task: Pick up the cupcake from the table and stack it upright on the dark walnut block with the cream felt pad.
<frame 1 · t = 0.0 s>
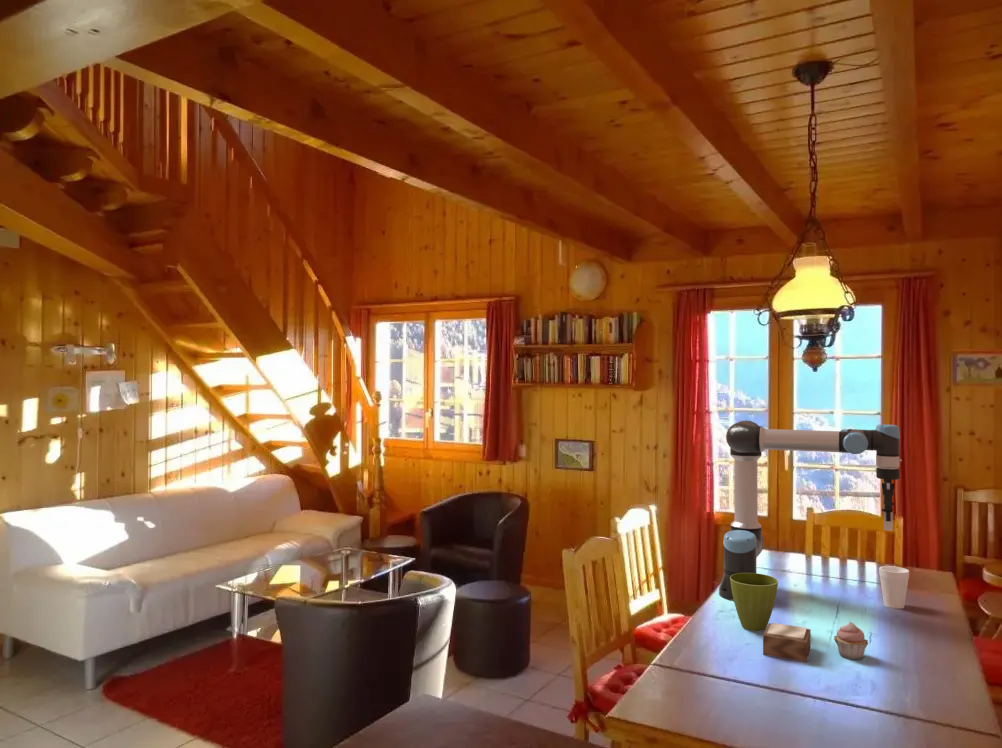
hand: (888, 526, 264), 28 cm above the table, tool pointing down, fingers open, 13 cm apart
walnut base: (787, 651, 219), on the table
cupcake: (850, 656, 216), on the table
foam cup: (894, 606, 262), on the table
flower pot: (753, 628, 240), on the table
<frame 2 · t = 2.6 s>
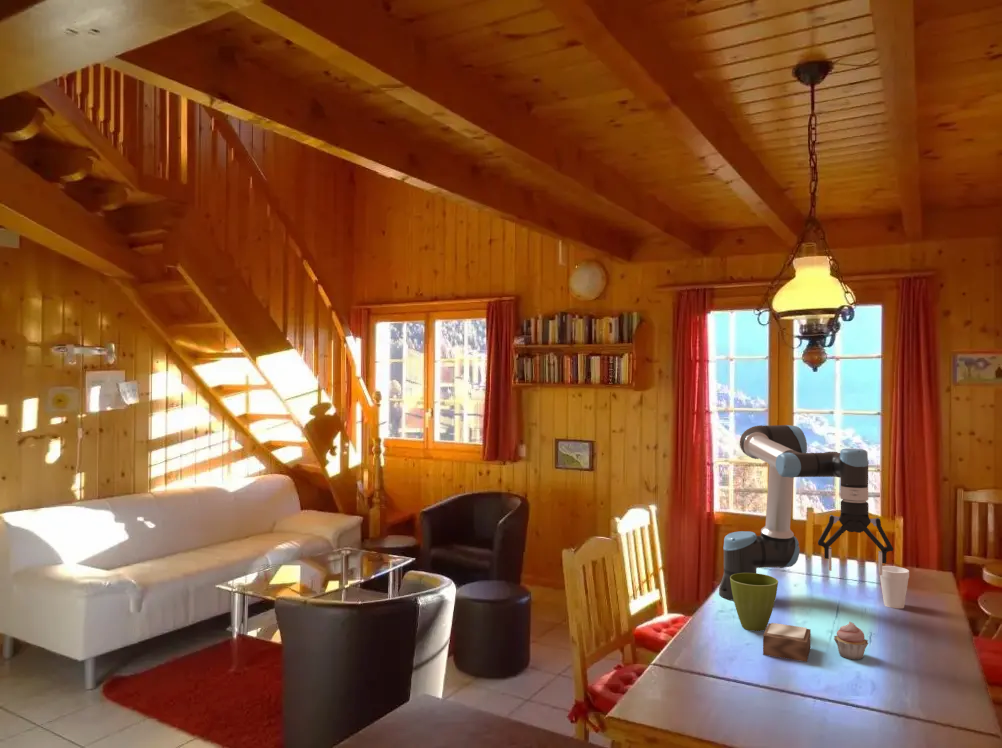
hand: (855, 572, 219), 24 cm above the table, tool pointing down, fingers open, 13 cm apart
nothing on the table moved.
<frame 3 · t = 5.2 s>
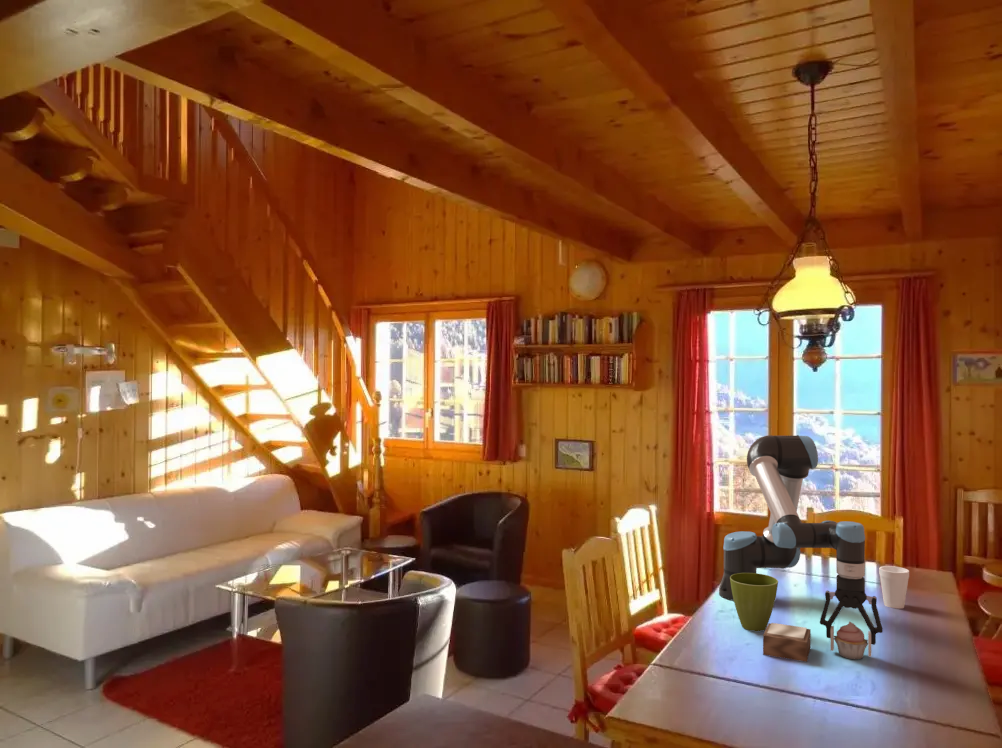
hand: (850, 652, 215), 1 cm above the table, tool pointing down, fingers closed on cupcake, 9 cm apart
cupcake: (850, 656, 216), on the table, touching gripper
everything else where it was.
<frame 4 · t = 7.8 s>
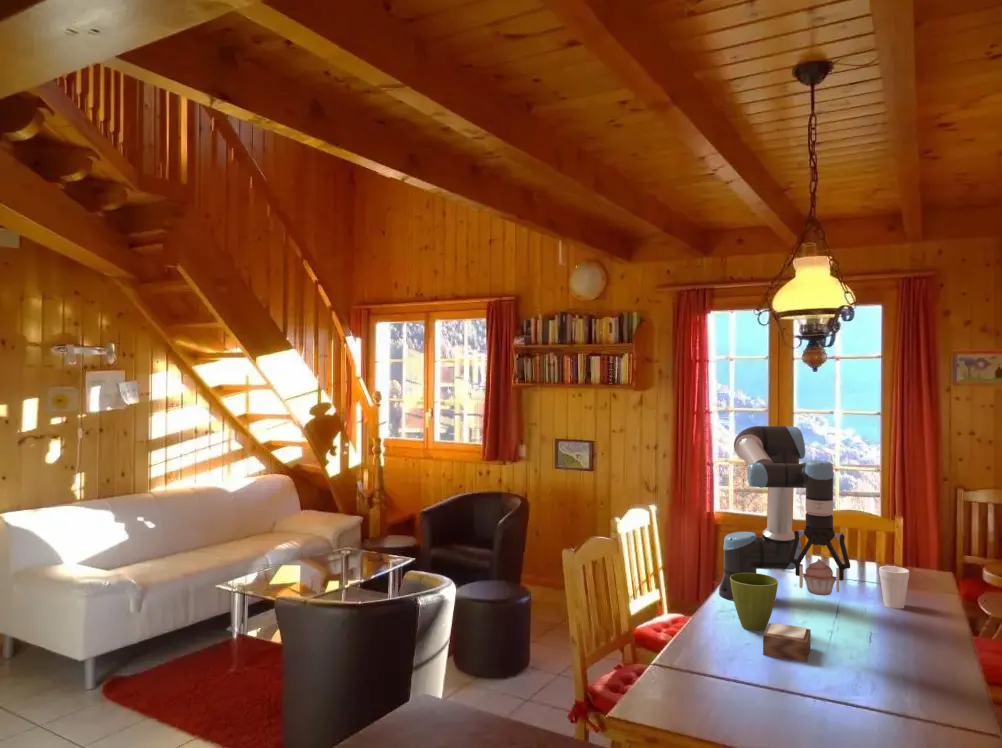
hand: (819, 588, 217), 19 cm above the table, tool pointing down, fingers closed on cupcake, 9 cm apart
cupcake: (819, 593, 217), point 18 cm above the table, touching gripper
everything else where it was.
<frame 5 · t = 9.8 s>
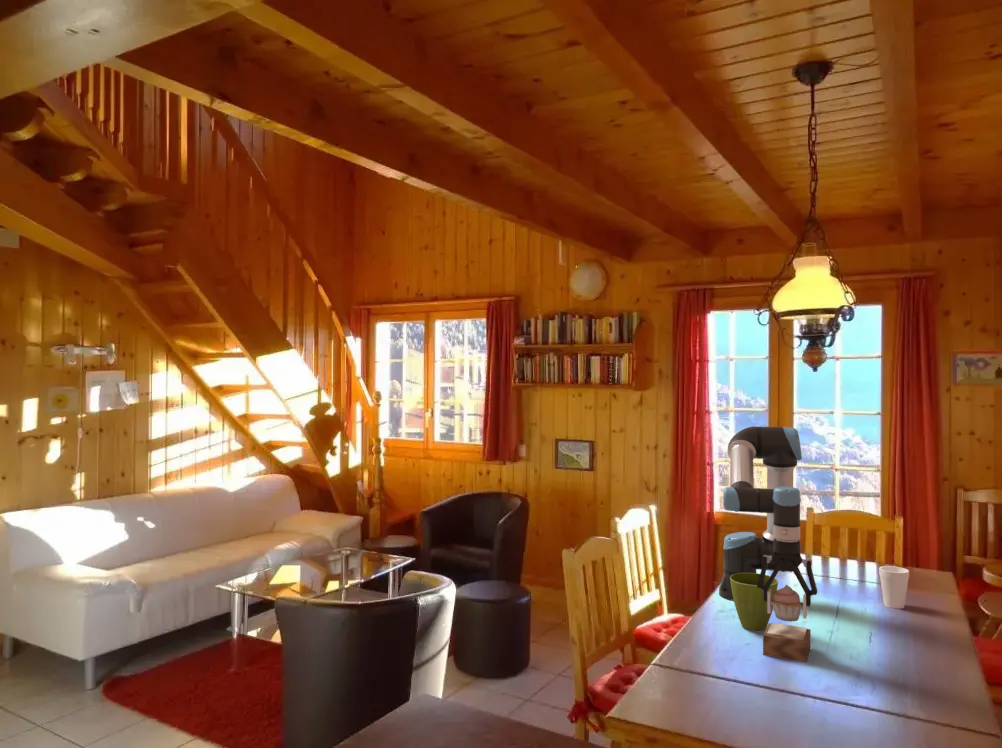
hand: (787, 614, 219), 11 cm above the table, tool pointing down, fingers closed on cupcake, 9 cm apart
cupcake: (786, 619, 219), point 10 cm above the table, touching gripper
everything else where it was.
when the fingers open (9 cm above the table, at t = 10.7 s): cupcake drops 2 cm, resting on walnut base.
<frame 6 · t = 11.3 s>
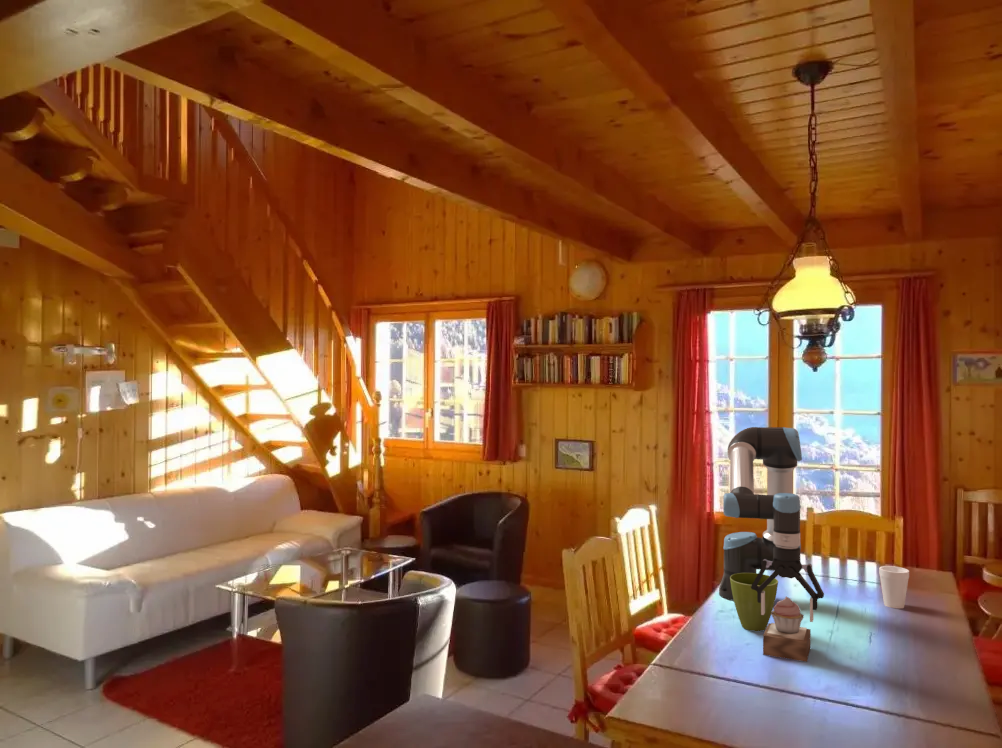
hand: (787, 617, 219), 10 cm above the table, tool pointing down, fingers open, 13 cm apart
cupcake: (787, 630, 219), point 6 cm above the table, touching walnut base
everything else where it was.
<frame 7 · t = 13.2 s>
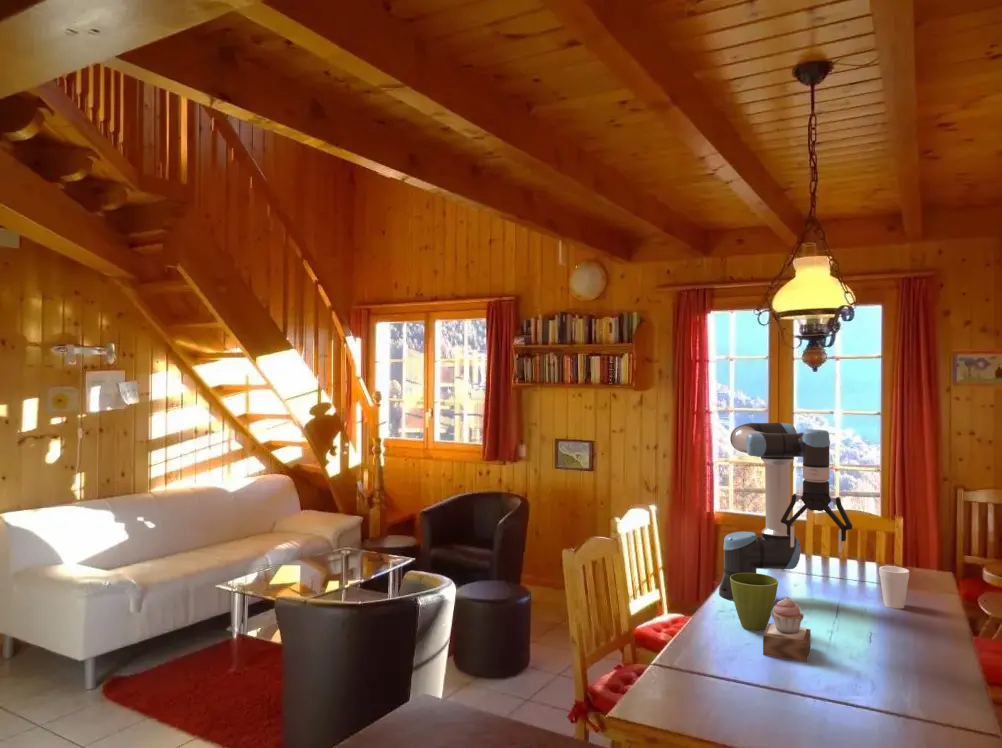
hand: (815, 549, 226), 29 cm above the table, tool pointing down, fingers open, 13 cm apart
nothing on the table moved.
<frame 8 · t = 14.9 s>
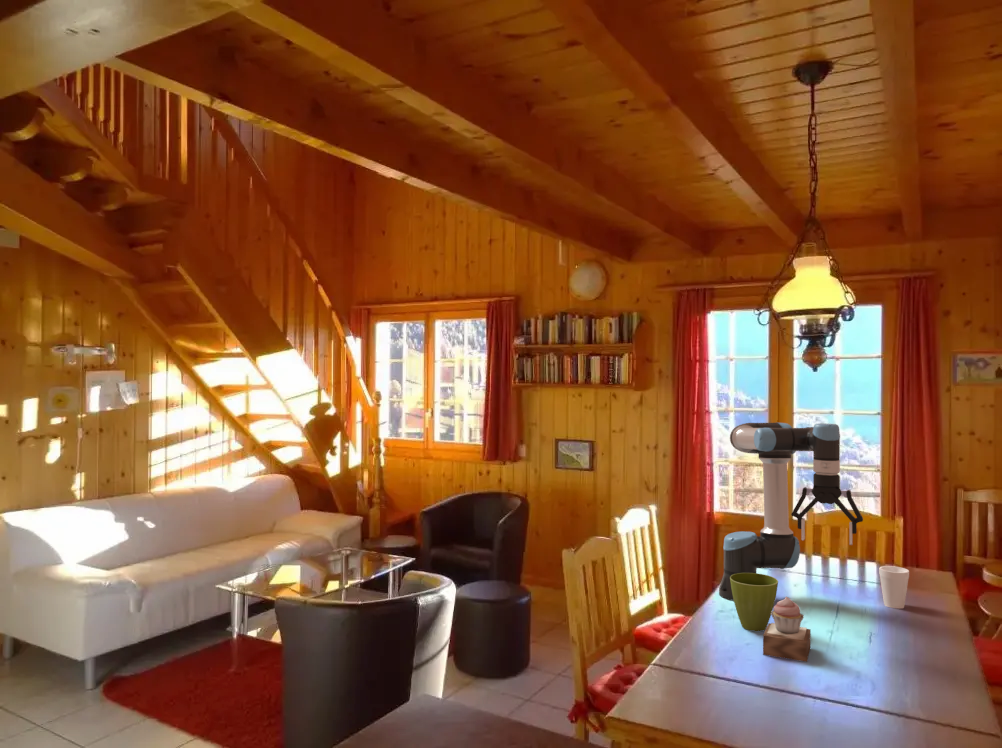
hand: (826, 541, 228), 31 cm above the table, tool pointing down, fingers open, 13 cm apart
nothing on the table moved.
at the end: cupcake inside the target area on the walnut base (0.0 cm from its centre), point 6.1 cm above the walnut base's base; cupcake tilted 0°; the gripper is holding nothing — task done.
